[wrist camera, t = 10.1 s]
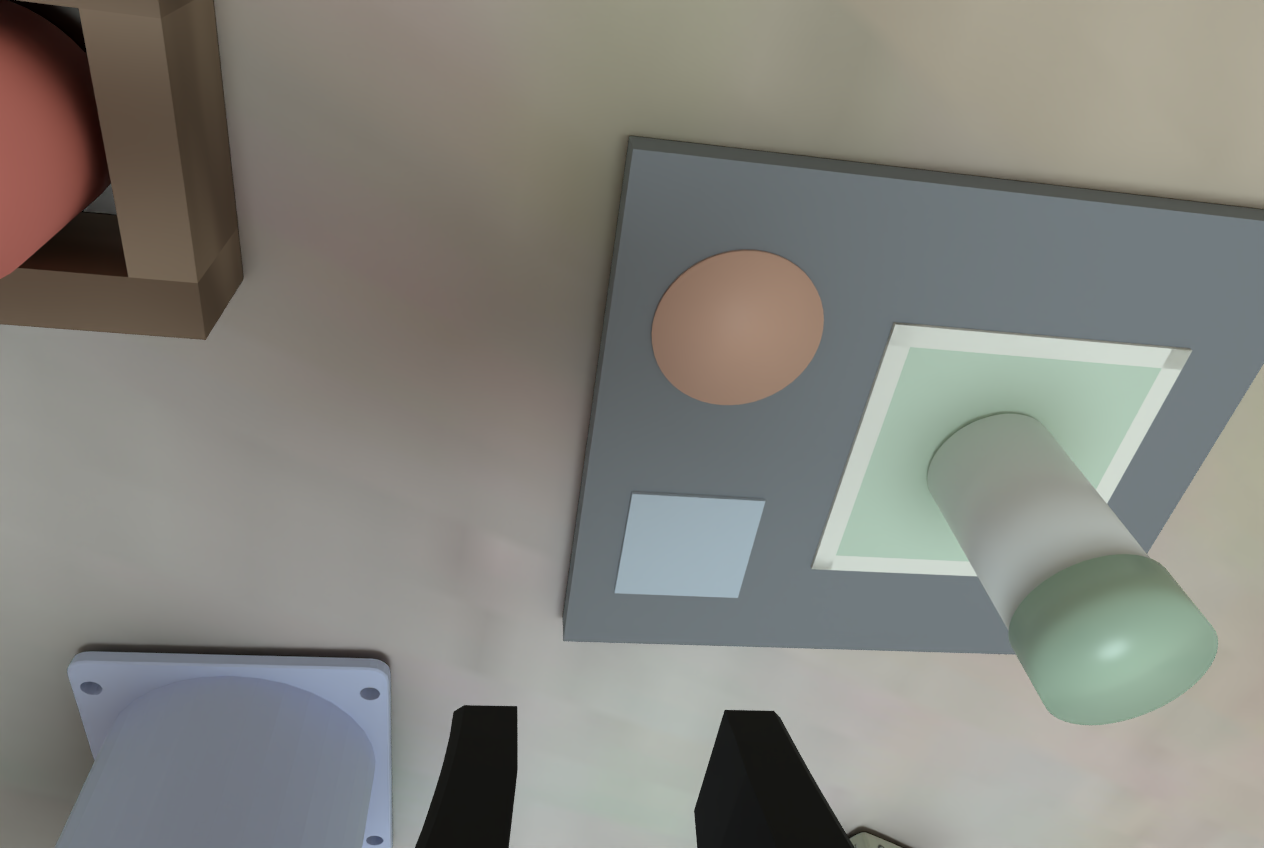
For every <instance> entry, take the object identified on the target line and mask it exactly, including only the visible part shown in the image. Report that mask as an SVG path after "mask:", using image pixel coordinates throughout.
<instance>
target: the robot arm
mask: <svg viewBox="0 0 1264 848" xmlns="http://www.w3.org/2000/svg"><path fill="white" fill-rule="evenodd" d="M67 674H68V677H69V681H70V684H71V687H72V690H73V694H74V697H75V700H76V703H77V707H78V710H79V713H80V716H81V719H82V723H83V726H84V729H85V732H86V736H87V739H88V742H89V745H90V749H91V752H92V755H93V758H94V764H93V766H92V768H91V770H90V772H89V774H88V777H87V779H86V781H85V783H84V785H83V787H82V790H81V792H80V794H79V796H78V798H77V800H76V802H75V805H74V807H73V809H72V811H71V813H70V815H69V818H68V820H67V822H66V824H65V826H64V828H63V831H62V833H61V835H60V837H59V839H58V841H57V843H56V846H55V848H393V831H392V752H391V673H390V669H389V666H388V665H387V664H386V663H384V662H382V661H380V660H378V659H372V658H333V657H294V656H255V655H215V654H176V653H137V652H98V651H89V652H81V653H79V654H77V655H75V656H74V658H73V659H72V661H71V663H70V664H69V666H68V668H67ZM368 687H371V688H368ZM516 778H517V706H470V705H464V706H462V707H461V708H459V709H457V710H456V711H454V713H453V719H452V726H451V732H450V737H449V742H448V746H447V750H446V754H445V758H444V762H443V766H442V769H441V773H440V776H439V780H438V783H437V786H436V790H435V793H434V796H433V799H432V802H431V805H430V808H429V811H428V814H427V817H426V820H425V823H424V826H423V828H422V831H421V834H420V836H419V839H418V841H417V844H416V847H415V848H509V840H510V831H511V822H512V813H513V804H514V796H515V787H516ZM694 813H695V825H696V837H697V848H855V847H854V846H853V844H852V842H851V841H850V839H849V838H848V836H847V834H846V833H845V831H844V829H843V828H842V826H841V824H840V823H839V821H838V819H837V818H836V816H835V814H834V813H833V811H832V809H831V808H830V806H829V804H828V802H827V801H826V799H825V797H824V796H823V794H822V792H821V791H820V789H819V787H818V785H817V784H816V782H815V780H814V778H813V777H812V775H811V773H810V771H809V770H808V768H807V766H806V764H805V762H804V761H803V759H802V757H801V755H800V753H799V752H798V750H797V748H796V746H795V744H794V742H793V741H792V739H791V737H790V735H789V733H788V731H787V730H786V728H785V726H784V724H783V722H782V720H781V718H780V717H779V716H778V715H777V714H776V713H775V712H774V711H747V710H725V711H724V715H723V718H722V721H721V724H720V728H719V731H718V734H717V738H716V741H715V744H714V747H713V751H712V754H711V757H710V761H709V764H708V767H707V770H706V774H705V777H704V780H703V784H702V787H701V790H700V793H699V797H698V800H697V803H696V807H695V810H694Z"/></svg>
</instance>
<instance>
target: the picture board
mask: <svg viewBox="0 0 1264 848" xmlns="http://www.w3.org/2000/svg"><path fill="white" fill-rule="evenodd" d="M1263 364H1264V210H1262V209H1253V208H1245V207H1236V206H1228V205H1219V204H1210V203H1202V202H1193V201H1185V200H1176V199H1168V198H1159V197H1150V196H1142V195H1133V194H1125V193H1116V192H1107V191H1099V190H1090V189H1082V188H1073V187H1065V186H1056V185H1047V184H1039V183H1030V182H1022V181H1013V180H1005V179H996V178H987V177H979V176H970V175H962V174H953V173H944V172H936V171H927V170H919V169H910V168H902V167H893V166H884V165H876V164H867V163H859V162H850V161H842V160H833V159H824V158H816V157H807V156H799V155H790V154H781V153H773V152H764V151H756V150H747V149H739V148H730V147H721V146H713V145H704V144H696V143H687V142H679V141H670V140H661V139H653V138H644V137H636V136H629V142H628V149H627V156H626V164H625V171H624V178H623V185H622V193H621V200H620V207H619V214H618V221H617V229H616V236H615V243H614V250H613V258H612V265H611V272H610V279H609V287H608V294H607V301H606V308H605V316H604V323H603V330H602V337H601V345H600V352H599V359H598V366H597V373H596V381H595V388H594V395H593V402H592V410H591V417H590V424H589V431H588V439H587V446H586V453H585V460H584V468H583V475H582V482H581V489H580V497H579V504H578V511H577V518H576V525H575V533H574V540H573V547H572V554H571V562H570V569H569V576H568V583H567V591H566V598H565V605H564V612H563V641H575V642H609V643H643V644H678V645H712V646H746V647H780V648H814V649H848V650H882V651H916V652H950V653H985V654H1015V652H1014V650H1013V648H1012V647H1011V644H1010V641H1009V635H1008V632H1009V631H1008V629H1007V627H1006V625H1005V624H1004V622H1003V620H1002V618H1001V617H1000V615H999V613H998V611H997V610H996V608H995V606H994V604H993V603H992V601H991V599H990V597H989V595H988V594H987V592H986V590H985V588H984V587H983V585H982V583H981V581H980V580H979V578H978V576H977V574H976V573H975V571H974V569H973V567H972V566H971V564H970V562H969V560H968V558H967V557H966V555H965V553H964V551H963V550H962V548H961V546H960V544H959V543H958V541H957V539H956V537H955V536H954V534H953V532H952V530H951V529H950V527H949V525H948V523H947V521H946V520H945V518H944V516H943V514H942V513H941V511H940V509H939V507H938V506H937V504H936V502H935V500H934V499H933V497H932V495H931V493H930V491H929V488H928V483H927V475H928V469H929V466H930V463H931V461H932V459H933V457H934V455H935V454H936V452H937V451H938V449H939V448H940V447H941V446H942V445H943V443H944V442H945V441H946V440H948V439H949V438H950V437H951V436H952V435H953V434H955V433H956V432H957V431H959V430H960V429H962V428H963V427H965V426H967V425H969V424H971V423H973V422H975V421H977V420H980V419H983V418H986V417H989V416H994V415H999V414H1021V415H1025V416H1029V417H1031V418H1034V419H1036V420H1038V421H1039V422H1041V423H1042V424H1043V425H1044V426H1045V427H1046V428H1047V429H1048V431H1049V432H1050V433H1051V434H1052V436H1053V437H1054V438H1055V439H1056V441H1057V442H1058V443H1059V444H1060V446H1061V447H1062V448H1063V450H1064V451H1065V452H1066V453H1067V455H1068V456H1069V457H1070V458H1071V460H1072V461H1073V462H1074V463H1075V465H1076V466H1077V467H1078V468H1079V470H1080V471H1081V472H1082V473H1083V475H1084V476H1085V477H1086V478H1087V480H1088V481H1089V482H1090V483H1091V485H1092V486H1093V487H1094V488H1095V490H1096V491H1097V492H1098V493H1099V495H1100V496H1101V497H1102V498H1103V500H1104V501H1105V502H1106V503H1107V505H1108V506H1109V507H1110V508H1111V510H1112V511H1113V512H1114V513H1115V515H1116V516H1117V517H1118V519H1119V520H1120V521H1121V522H1122V524H1123V525H1124V526H1125V527H1126V529H1127V530H1128V531H1129V532H1130V534H1131V535H1132V536H1133V537H1134V539H1135V540H1136V541H1137V542H1138V544H1139V545H1140V546H1141V547H1142V549H1143V550H1144V551H1145V552H1146V554H1147V553H1148V551H1149V550H1150V548H1151V546H1152V545H1153V543H1154V541H1155V540H1156V538H1157V536H1158V535H1159V533H1160V532H1161V530H1162V528H1163V527H1164V525H1165V523H1166V522H1167V520H1168V519H1169V517H1170V515H1171V514H1172V512H1173V510H1174V509H1175V507H1176V505H1177V504H1178V502H1179V501H1180V499H1181V497H1182V496H1183V494H1184V492H1185V491H1186V489H1187V488H1188V486H1189V484H1190V483H1191V481H1192V479H1193V478H1194V476H1195V475H1196V473H1197V471H1198V470H1199V468H1200V466H1201V465H1202V463H1203V461H1204V460H1205V458H1206V457H1207V455H1208V453H1209V452H1210V450H1211V448H1212V447H1213V445H1214V444H1215V442H1216V440H1217V439H1218V437H1219V435H1220V434H1221V432H1222V431H1223V429H1224V427H1225V426H1226V424H1227V422H1228V421H1229V419H1230V417H1231V416H1232V414H1233V413H1234V411H1235V409H1236V408H1237V406H1238V404H1239V403H1240V401H1241V400H1242V398H1243V396H1244V395H1245V393H1246V391H1247V390H1248V388H1249V386H1250V385H1251V383H1252V382H1253V380H1254V378H1255V377H1256V375H1257V373H1258V372H1259V370H1260V369H1261V367H1262V365H1263Z"/></svg>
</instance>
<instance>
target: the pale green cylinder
mask: <svg viewBox="0 0 1264 848" xmlns="http://www.w3.org/2000/svg"><path fill="white" fill-rule="evenodd" d="M927 483H928V488H929V491H930V493H931V495H932V497H933V499H934V500H935V502H936V504H937V506H938V507H939V509H940V511H941V513H942V514H943V516H944V518H945V520H946V521H947V523H948V525H949V527H950V529H951V530H952V532H953V534H954V536H955V537H956V539H957V541H958V543H959V544H960V546H961V548H962V550H963V551H964V553H965V555H966V557H967V558H968V560H969V562H970V564H971V566H972V567H973V569H974V571H975V573H976V574H977V576H978V578H979V580H980V581H981V583H982V585H983V587H984V588H985V590H986V592H987V594H988V595H989V597H990V599H991V601H992V603H993V604H994V606H995V608H996V610H997V611H998V613H999V615H1000V617H1001V618H1002V620H1003V622H1004V624H1005V625H1006V627H1007V629H1008V631H1009V632H1008V635H1009V641H1010V644H1011V647H1012V648H1013V650H1014V652H1015V654H1016V655H1017V657H1018V659H1019V661H1020V663H1021V664H1022V666H1023V668H1024V670H1025V671H1026V673H1027V675H1028V677H1029V679H1030V680H1031V682H1032V684H1033V686H1034V688H1035V689H1036V691H1037V693H1038V695H1039V696H1040V698H1041V700H1042V702H1043V704H1044V705H1045V707H1046V709H1047V710H1048V711H1049V712H1050V713H1051V714H1052V715H1053V716H1055V717H1056V718H1058V719H1060V720H1063V721H1065V722H1069V723H1073V724H1080V725H1102V724H1110V723H1115V722H1120V721H1125V720H1128V719H1132V718H1135V717H1138V716H1141V715H1144V714H1146V713H1148V712H1151V711H1153V710H1155V709H1158V708H1160V707H1162V706H1164V705H1165V704H1167V703H1169V702H1171V701H1172V700H1174V699H1176V698H1177V697H1179V696H1180V695H1182V694H1183V693H1184V692H1186V691H1187V690H1188V689H1189V688H1191V687H1192V686H1193V685H1194V684H1195V683H1196V682H1197V681H1198V680H1199V679H1200V678H1201V677H1202V676H1203V675H1204V674H1205V673H1206V671H1207V670H1208V668H1209V667H1210V666H1211V664H1212V662H1213V660H1214V658H1215V656H1216V653H1217V648H1218V637H1217V634H1216V631H1215V630H1214V628H1213V627H1212V625H1211V624H1210V623H1209V622H1208V621H1207V619H1206V618H1205V617H1204V616H1203V614H1202V613H1201V612H1200V611H1199V609H1198V608H1197V607H1196V606H1195V604H1194V603H1193V602H1192V601H1191V599H1190V598H1189V597H1188V596H1187V594H1186V593H1185V592H1184V591H1183V590H1182V588H1181V587H1180V586H1179V585H1178V583H1177V582H1176V581H1175V580H1174V578H1173V577H1172V576H1171V575H1170V573H1169V572H1168V571H1167V570H1166V568H1164V567H1163V566H1162V565H1161V564H1160V563H1158V562H1157V561H1155V560H1153V559H1150V557H1149V556H1148V555H1147V554H1146V552H1145V551H1144V550H1143V549H1142V547H1141V546H1140V545H1139V544H1138V542H1137V541H1136V540H1135V539H1134V537H1133V536H1132V535H1131V534H1130V532H1129V531H1128V530H1127V529H1126V527H1125V526H1124V525H1123V524H1122V522H1121V521H1120V520H1119V519H1118V517H1117V516H1116V515H1115V513H1114V512H1113V511H1112V510H1111V508H1110V507H1109V506H1108V505H1107V503H1106V502H1105V501H1104V500H1103V498H1102V497H1101V496H1100V495H1099V493H1098V492H1097V491H1096V490H1095V488H1094V487H1093V486H1092V485H1091V483H1090V482H1089V481H1088V480H1087V478H1086V477H1085V476H1084V475H1083V473H1082V472H1081V471H1080V470H1079V468H1078V467H1077V466H1076V465H1075V463H1074V462H1073V461H1072V460H1071V458H1070V457H1069V456H1068V455H1067V453H1066V452H1065V451H1064V450H1063V448H1062V447H1061V446H1060V444H1059V443H1058V442H1057V441H1056V439H1055V438H1054V437H1053V436H1052V434H1051V433H1050V432H1049V431H1048V429H1047V428H1046V427H1045V426H1044V425H1043V424H1042V423H1041V422H1039V421H1038V420H1036V419H1034V418H1031V417H1029V416H1025V415H1021V414H999V415H994V416H989V417H986V418H983V419H980V420H977V421H975V422H973V423H971V424H969V425H967V426H965V427H963V428H962V429H960V430H959V431H957V432H956V433H955V434H953V435H952V436H951V437H950V438H949V439H948V440H946V441H945V442H944V443H943V445H942V446H941V447H940V448H939V449H938V451H937V452H936V454H935V455H934V457H933V459H932V461H931V463H930V466H929V469H928V475H927Z"/></svg>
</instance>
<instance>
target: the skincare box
mask: <svg viewBox="0 0 1264 848" xmlns="http://www.w3.org/2000/svg"><path fill="white" fill-rule="evenodd" d="M850 841H851V842H852V844H853V846H854V847H855V848H901V847H899V846H897V845H895V844H893V843H890V842H888V841H886V840H883V839H881V838H879V837H876V836H873V835H871V834H869V833H866V832H862V833H859V834H857V835H855V836H853V837H852V838H850Z"/></svg>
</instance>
